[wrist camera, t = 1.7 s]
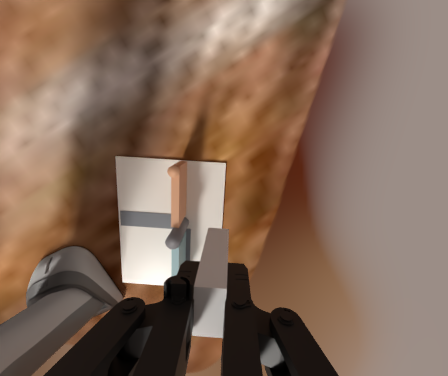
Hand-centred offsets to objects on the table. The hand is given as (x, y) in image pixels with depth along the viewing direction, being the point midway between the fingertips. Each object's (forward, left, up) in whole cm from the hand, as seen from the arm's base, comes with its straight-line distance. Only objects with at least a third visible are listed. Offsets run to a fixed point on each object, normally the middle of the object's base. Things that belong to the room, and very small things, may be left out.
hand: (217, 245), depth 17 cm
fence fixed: (+10, -6, -18) cm, 21 cm away
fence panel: (0, -6, -17) cm, 18 cm away
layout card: (+7, -8, -18) cm, 21 cm away
